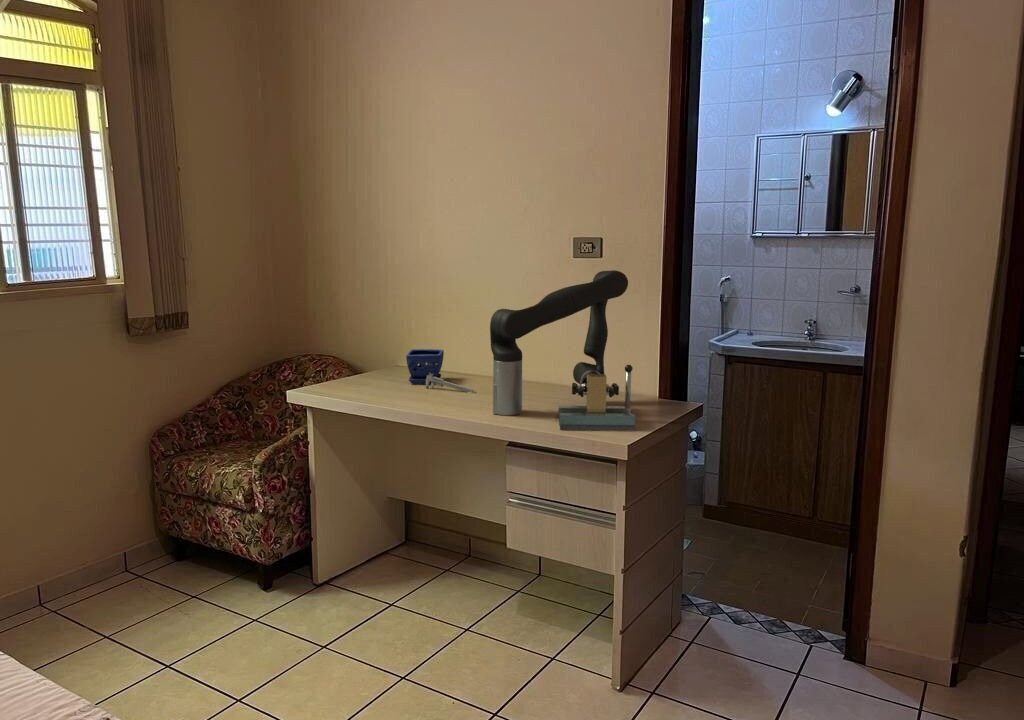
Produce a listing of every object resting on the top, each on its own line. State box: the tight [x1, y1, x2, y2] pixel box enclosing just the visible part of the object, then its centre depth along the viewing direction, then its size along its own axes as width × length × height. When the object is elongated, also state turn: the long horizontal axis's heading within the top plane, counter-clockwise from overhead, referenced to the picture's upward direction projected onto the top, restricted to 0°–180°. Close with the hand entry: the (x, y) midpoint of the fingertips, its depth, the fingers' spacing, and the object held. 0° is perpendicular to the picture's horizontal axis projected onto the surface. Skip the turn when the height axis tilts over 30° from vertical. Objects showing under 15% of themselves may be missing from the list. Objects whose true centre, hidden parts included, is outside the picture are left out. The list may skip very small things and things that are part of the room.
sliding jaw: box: [557, 364, 633, 417], centre depth 243 cm, size 4×22×16 cm, turn 89°
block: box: [585, 373, 608, 413], centre depth 237 cm, size 4×6×14 cm
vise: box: [557, 413, 636, 431], centre depth 239 cm, size 16×22×4 cm
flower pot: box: [405, 348, 445, 385], centre depth 303 cm, size 13×13×12 cm
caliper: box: [425, 373, 476, 394], centre depth 288 cm, size 20×1×6 cm, turn 66°
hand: (596, 393), depth 235 cm, fingers open, 8 cm apart
